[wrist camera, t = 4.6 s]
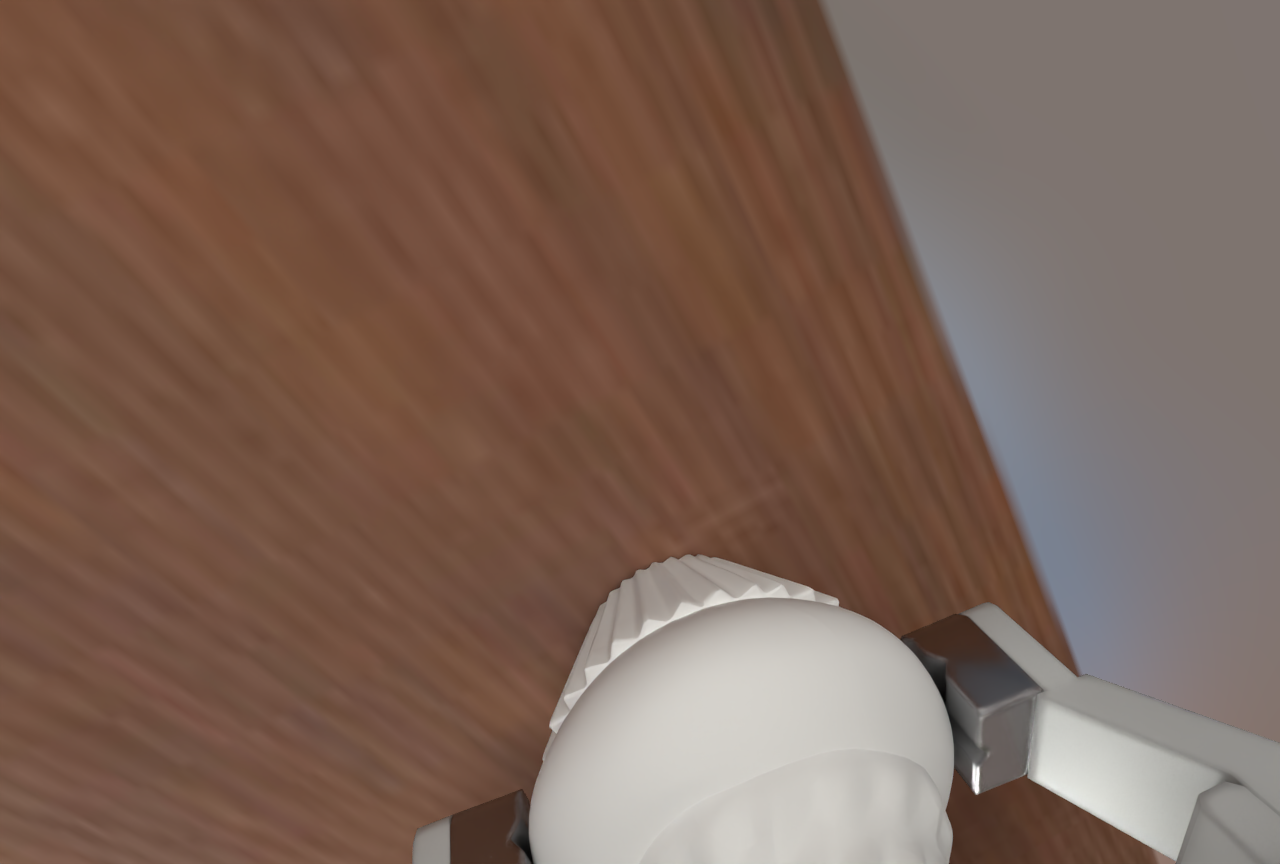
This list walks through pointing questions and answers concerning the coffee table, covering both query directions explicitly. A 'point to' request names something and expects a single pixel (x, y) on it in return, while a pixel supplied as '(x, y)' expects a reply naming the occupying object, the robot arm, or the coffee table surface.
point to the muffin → (742, 731)
